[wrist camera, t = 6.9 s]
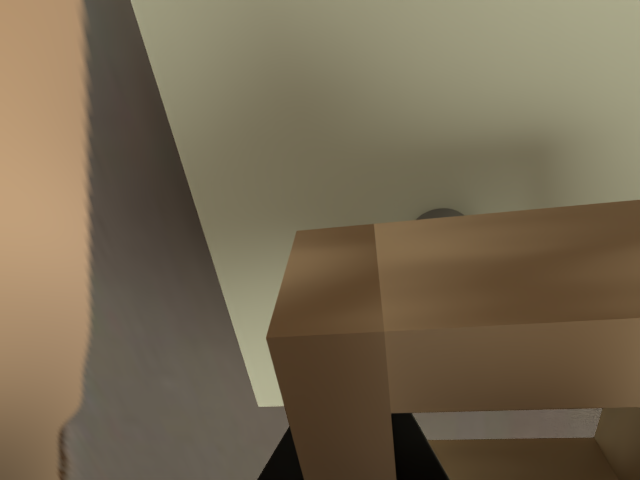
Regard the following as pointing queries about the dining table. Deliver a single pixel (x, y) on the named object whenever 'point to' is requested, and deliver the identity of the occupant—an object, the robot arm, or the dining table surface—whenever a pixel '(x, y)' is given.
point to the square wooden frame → (463, 339)
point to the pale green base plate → (385, 121)
